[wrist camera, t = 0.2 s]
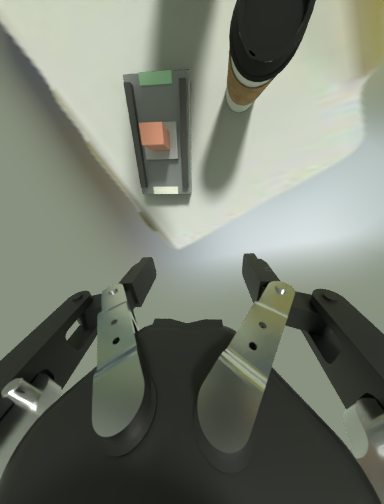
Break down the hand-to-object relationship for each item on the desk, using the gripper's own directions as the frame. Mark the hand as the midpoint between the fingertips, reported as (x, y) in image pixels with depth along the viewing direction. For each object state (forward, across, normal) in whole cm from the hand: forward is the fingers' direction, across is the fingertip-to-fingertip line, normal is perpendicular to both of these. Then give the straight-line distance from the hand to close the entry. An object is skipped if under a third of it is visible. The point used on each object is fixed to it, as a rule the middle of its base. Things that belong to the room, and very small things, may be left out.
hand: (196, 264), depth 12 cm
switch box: (+28, +8, -14) cm, 33 cm away
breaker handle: (+25, +8, -14) cm, 30 cm away
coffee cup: (+29, -9, -21) cm, 37 cm away
